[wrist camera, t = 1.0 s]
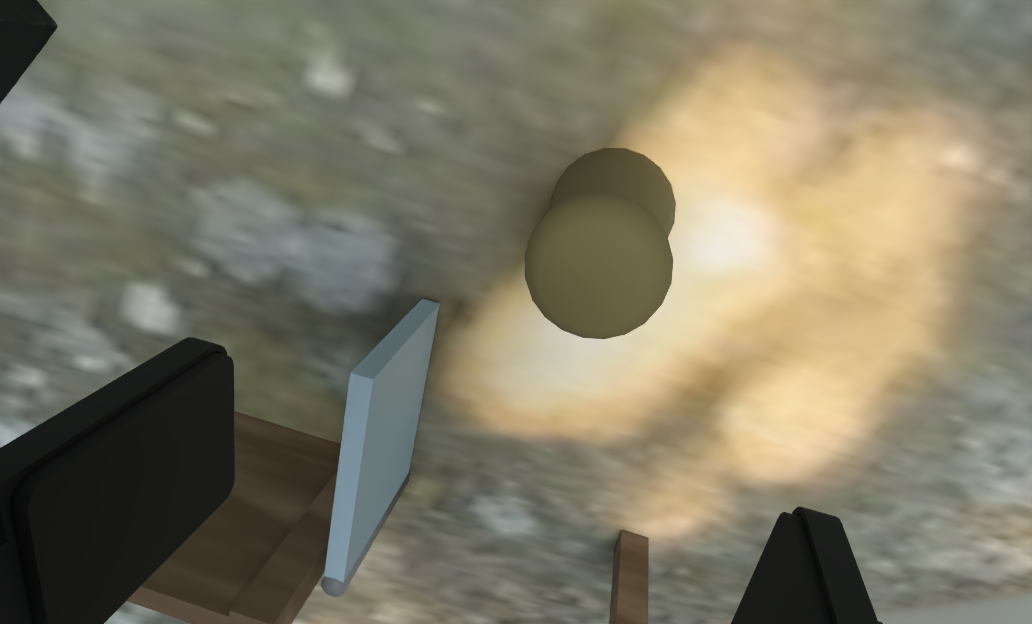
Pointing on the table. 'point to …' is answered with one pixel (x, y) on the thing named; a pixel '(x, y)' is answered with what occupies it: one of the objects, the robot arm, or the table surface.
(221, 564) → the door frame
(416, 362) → the door
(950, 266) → the table surface
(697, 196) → the table surface
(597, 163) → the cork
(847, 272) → the table surface
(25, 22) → the coral
